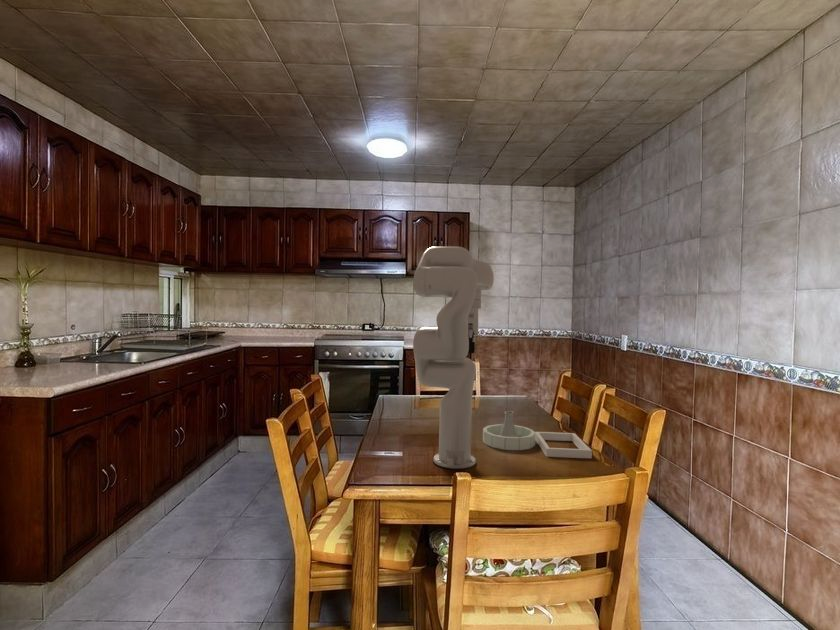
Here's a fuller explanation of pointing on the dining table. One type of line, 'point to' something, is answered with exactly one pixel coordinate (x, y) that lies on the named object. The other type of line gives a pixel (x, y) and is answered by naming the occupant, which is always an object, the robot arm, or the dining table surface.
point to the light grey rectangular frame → (563, 452)
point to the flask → (508, 425)
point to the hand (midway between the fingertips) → (469, 351)
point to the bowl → (509, 438)
